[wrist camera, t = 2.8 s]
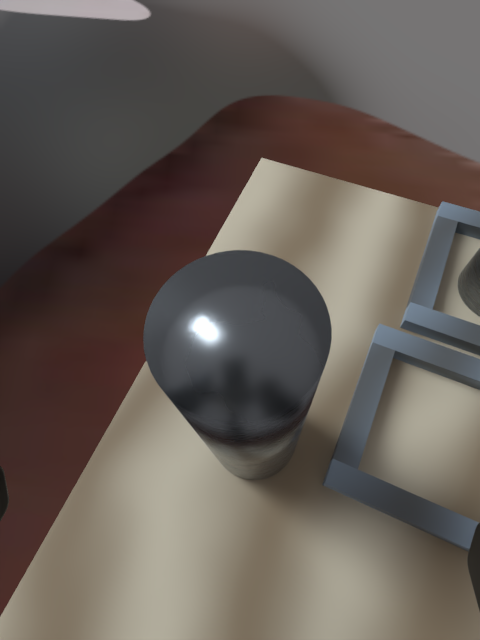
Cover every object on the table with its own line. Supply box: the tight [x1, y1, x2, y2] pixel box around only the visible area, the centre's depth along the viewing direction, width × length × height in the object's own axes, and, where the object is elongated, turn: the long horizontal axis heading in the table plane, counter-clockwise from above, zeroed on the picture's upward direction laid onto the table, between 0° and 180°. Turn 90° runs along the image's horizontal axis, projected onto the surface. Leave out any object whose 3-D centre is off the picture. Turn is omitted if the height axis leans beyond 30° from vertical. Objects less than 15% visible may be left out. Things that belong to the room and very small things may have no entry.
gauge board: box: [0, 158, 480, 640], centre depth 17 cm, size 18×30×2 cm, turn 156°
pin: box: [143, 250, 332, 480], centre depth 13 cm, size 4×4×11 cm
